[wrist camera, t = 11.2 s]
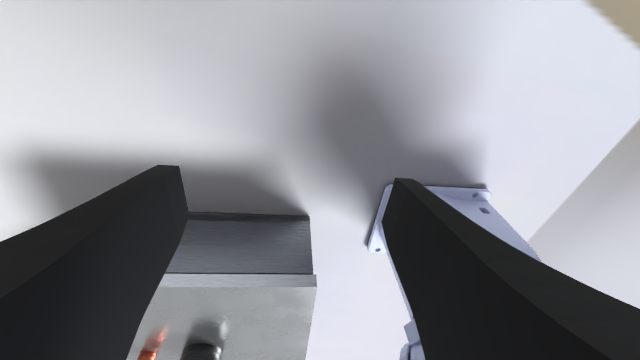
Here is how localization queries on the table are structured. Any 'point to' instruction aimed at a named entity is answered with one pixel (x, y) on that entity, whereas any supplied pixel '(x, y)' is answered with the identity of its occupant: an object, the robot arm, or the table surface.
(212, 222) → the grey hinged lid box
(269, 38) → the table surface
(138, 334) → the cooker lid
